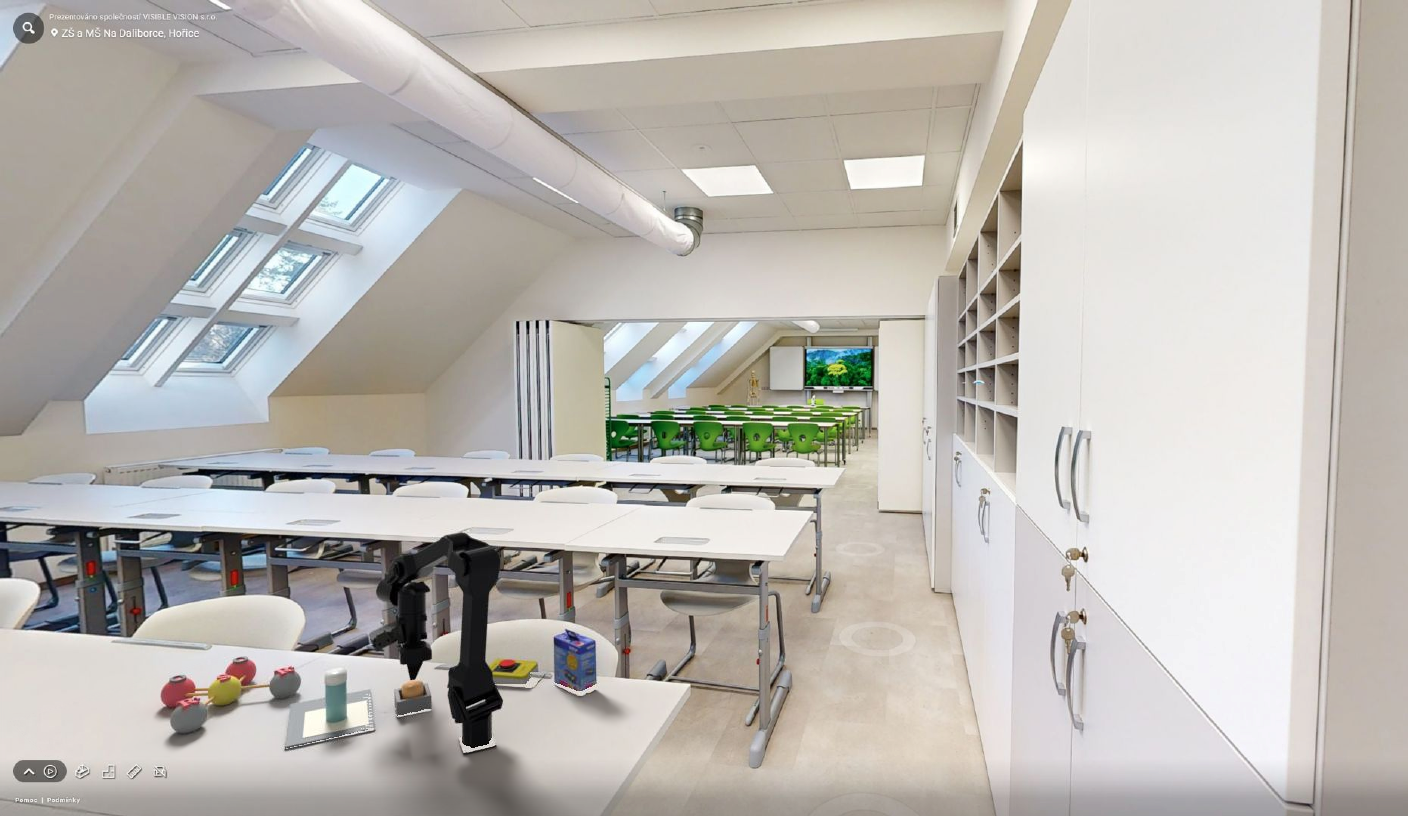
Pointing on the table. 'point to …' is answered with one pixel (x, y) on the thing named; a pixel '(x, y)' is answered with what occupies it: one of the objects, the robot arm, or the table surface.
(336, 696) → the white-capped teal tube
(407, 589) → the robot arm
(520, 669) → the emergency button
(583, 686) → the ink cartridge box
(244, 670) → the molecule model
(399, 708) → the button housing
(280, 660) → the table surface
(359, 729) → the drawing board
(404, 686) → the button
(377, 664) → the table surface
